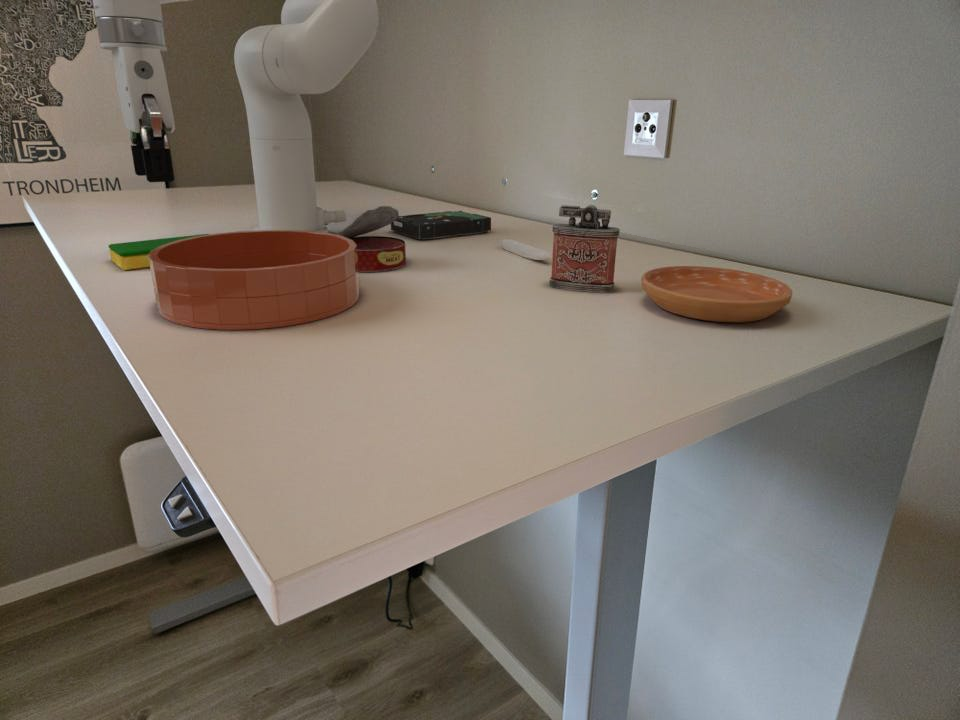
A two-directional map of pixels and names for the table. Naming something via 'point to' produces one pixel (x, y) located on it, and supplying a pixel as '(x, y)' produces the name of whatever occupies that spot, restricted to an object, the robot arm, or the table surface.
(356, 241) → the canned food
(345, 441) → the table surface
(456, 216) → the disk drive
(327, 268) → the basin
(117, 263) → the dish sponge
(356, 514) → the table surface
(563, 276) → the lighter
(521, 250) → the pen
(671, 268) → the saucer
